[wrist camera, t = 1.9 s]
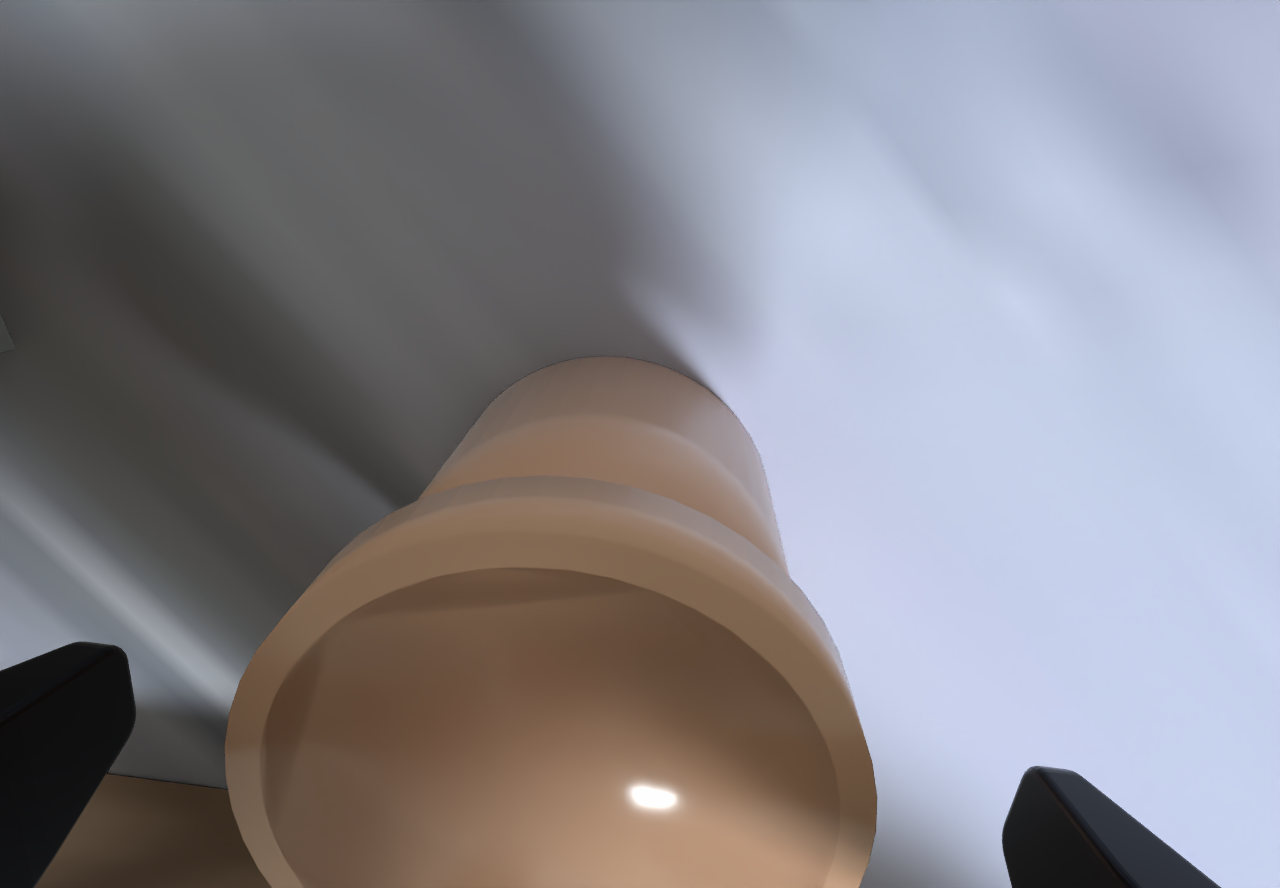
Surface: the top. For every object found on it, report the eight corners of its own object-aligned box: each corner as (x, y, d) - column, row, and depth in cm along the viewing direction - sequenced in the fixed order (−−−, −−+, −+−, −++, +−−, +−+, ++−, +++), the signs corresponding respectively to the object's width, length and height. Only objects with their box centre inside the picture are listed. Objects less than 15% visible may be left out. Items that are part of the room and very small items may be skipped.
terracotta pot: (821, 361, 11) (954, 583, 6) (756, 676, 13) (806, 1065, 8) (437, 314, 11) (193, 486, 6) (433, 633, 13) (249, 989, 8)
